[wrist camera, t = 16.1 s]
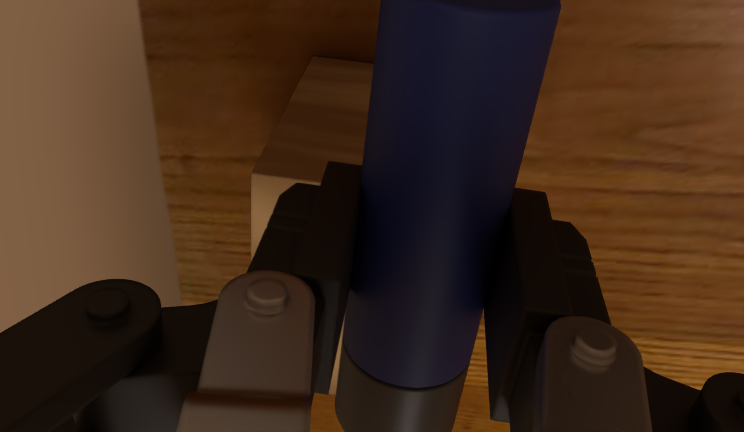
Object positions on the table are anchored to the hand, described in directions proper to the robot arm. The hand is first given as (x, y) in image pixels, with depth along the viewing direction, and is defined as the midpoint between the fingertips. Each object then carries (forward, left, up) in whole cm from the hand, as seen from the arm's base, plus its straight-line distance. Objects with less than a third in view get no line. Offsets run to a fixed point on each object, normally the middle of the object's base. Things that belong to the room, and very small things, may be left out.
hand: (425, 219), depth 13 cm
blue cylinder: (0, 0, -1) cm, 1 cm away
